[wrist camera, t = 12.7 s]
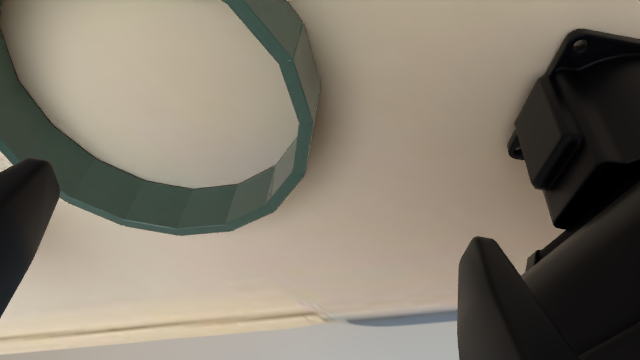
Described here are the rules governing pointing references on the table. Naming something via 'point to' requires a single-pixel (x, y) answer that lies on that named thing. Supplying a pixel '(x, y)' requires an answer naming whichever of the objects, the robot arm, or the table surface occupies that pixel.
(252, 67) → the table surface
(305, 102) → the bracelet
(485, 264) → the robot arm
